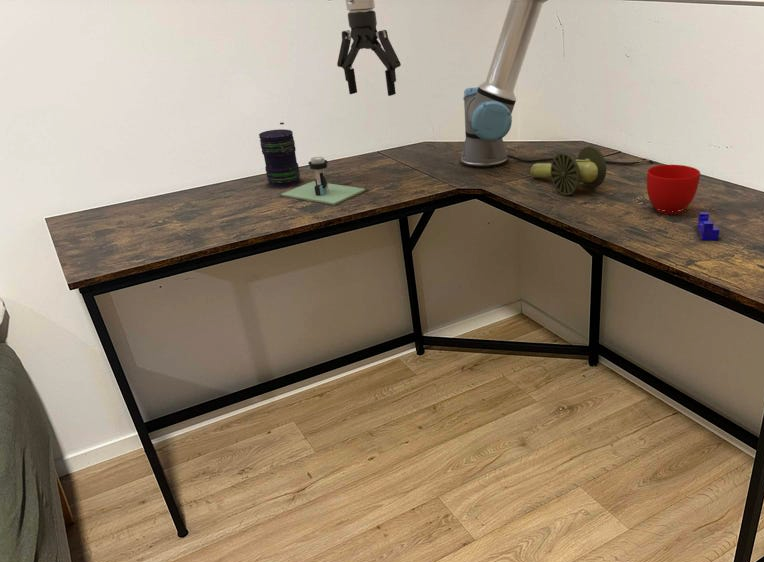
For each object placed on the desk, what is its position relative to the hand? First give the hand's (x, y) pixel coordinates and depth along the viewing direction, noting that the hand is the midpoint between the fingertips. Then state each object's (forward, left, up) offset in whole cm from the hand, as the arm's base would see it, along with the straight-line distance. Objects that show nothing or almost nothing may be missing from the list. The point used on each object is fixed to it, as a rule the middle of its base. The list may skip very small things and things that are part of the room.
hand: (372, 94), depth 192 cm
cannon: (-53, -17, -25) cm, 61 cm away
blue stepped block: (-99, +4, -25) cm, 102 cm away
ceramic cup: (-86, -11, -25) cm, 90 cm away
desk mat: (+8, +17, -25) cm, 31 cm away
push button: (+7, +18, -25) cm, 31 cm away
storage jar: (+26, +14, -25) cm, 39 cm away
